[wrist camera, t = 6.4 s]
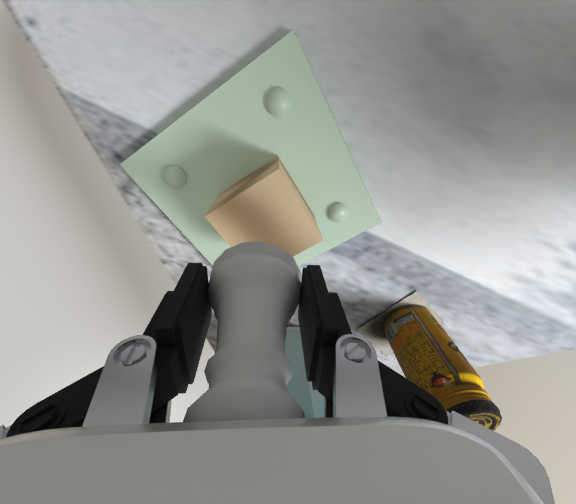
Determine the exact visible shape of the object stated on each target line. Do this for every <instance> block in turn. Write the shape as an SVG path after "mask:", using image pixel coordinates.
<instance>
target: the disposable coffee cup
mask: <svg viewBox="0 0 576 504" xmlns="http://www.w3.org/2000/svg"><path fill="white" fill-rule="evenodd" d="M285 355H286V357H287V358H288V360H289V361H290V363H291V364H292V377H291V379H290V381H289V382H288V384H287V386H286V388H287V391H288V393H289V394H290V395H291V396H292V397H293V398H294V399H295V400H296V402H297V403H298V404H299V406H300V407H301V408H302V410H303V411H304V412H305V418H324V396H323V395H322V394H320V393H319V392H318V390H313V387H312V382H308V381H307V377H306V370H305V363H304V355H303V348H302V341H301V333H300V327H287V331H286V341H285Z"/></svg>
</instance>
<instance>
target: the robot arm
mask: <svg viewBox="0 0 576 504" xmlns="http://www.w3.org/2000/svg"><path fill="white" fill-rule="evenodd" d="M208 285H209V283H208V274H207V267H206V266H203V265H202V263H188V264H187V266H186V268H185V270H184V272H183V274H182V276H181V278H180V280H179V282H178V284H177V286H176V288H175V290H174V291H168V292H167V293H166V294H165V295H164V298H163V299H162V301H161V303H160V305H159V306H158V308H157V310H156V312H155V314H154V315H153V317H152V319H151V321H150V323H149V324H148V326H147V328H146V330H145V332H144V333H143V335H137V336H133V337H129V338H127V339H125V340H123V341H121V342H120V343H118V344H117V345H116V346H115V347H114V348H113V349H112V350H111V351H110V353H109V355H108V357H107V360H106V363H105V365H104V366H103V367H101V368H100V369H98V370H96V371H94V372H93V373H91V374H89V375H87V376H85V377H83V378H82V379H80V380H78V381H76V382H74V383H73V384H71V385H69V386H67V387H65V388H64V389H62V390H60V391H58V392H56V393H55V394H53V395H51V396H49V397H47V398H45V399H44V400H42V401H40V402H38V403H37V404H35V405H33V406H32V407H30V408H29V409H27V410H26V411H25V412H24V413H23V414H21V415H20V416H19V417H18V418H17V419H16V420H15V422H14V423H13V424H12V425H11V426H10V427H7V428H6V427H5V426H4V425H2V426H0V504H555V502H554V498H553V494H552V489H551V486H550V481H549V477H548V475H547V473H546V470H545V468H544V467H543V466H542V464H541V463H540V461H539V460H538V459H537V458H536V457H535V456H534V455H533V454H532V453H531V452H530V451H529V450H527V449H526V448H524V447H523V446H521V445H520V444H518V443H516V442H514V441H512V440H510V439H508V438H506V437H504V436H502V435H500V434H498V433H496V432H494V431H492V430H490V429H488V428H486V427H484V426H483V425H481V424H479V423H477V422H475V421H473V420H471V419H469V418H467V417H465V416H463V415H461V414H459V413H457V412H455V411H452V413H449V412H447V411H445V409H444V407H443V405H442V404H441V403H440V402H439V401H438V400H437V399H436V398H435V397H434V396H432V395H431V394H430V393H428V392H427V391H425V390H424V389H422V388H420V387H419V386H417V385H416V384H414V383H413V382H411V381H409V380H408V379H406V378H405V377H403V376H402V375H400V374H398V373H397V372H395V371H394V370H392V369H391V368H389V367H387V366H386V365H384V364H383V363H381V362H380V361H378V360H377V354H376V351H375V348H374V347H373V345H372V344H371V343H370V342H369V341H368V340H367V339H365V338H363V337H361V336H358V335H355V334H352V332H351V330H350V327H349V324H348V321H347V319H346V316H345V313H344V310H343V308H342V305H341V302H340V299H339V297H338V294H337V293H328V290H327V287H326V284H325V280H324V277H323V274H322V271H321V268H320V265H308V266H307V268H303V273H302V282H301V299H300V302H299V310H298V319H299V326H300V333H301V341H302V348H303V355H304V363H305V370H306V377H307V381H308V382H312V387H313V390H318V392H319V393H320V394H322V395H323V396H324V418H297V419H263V420H233V421H203V422H178V423H177V422H176V423H169V421H170V409H171V399H173V398H174V397H175V396H177V395H178V393H186V391H187V387H188V384H192V383H193V382H194V378H195V375H196V371H197V367H198V364H199V360H200V356H201V353H202V349H203V345H204V342H205V338H206V335H207V331H208V327H209V324H210V320H211V314H212V311H211V303H210V299H209V294H208Z"/></svg>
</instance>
